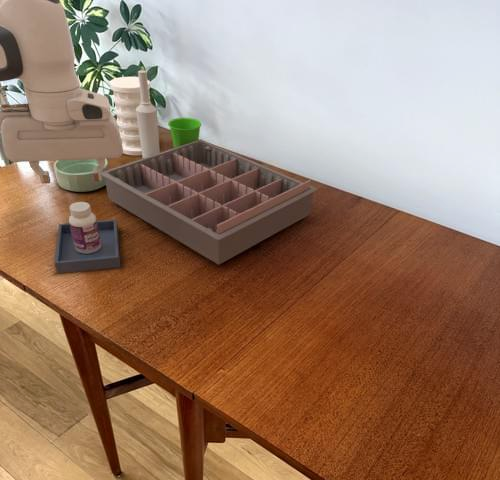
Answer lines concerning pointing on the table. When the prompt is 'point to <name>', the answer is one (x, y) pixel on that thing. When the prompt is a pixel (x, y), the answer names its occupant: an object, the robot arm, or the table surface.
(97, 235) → the pill bottle
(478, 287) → the table surface
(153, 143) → the bottle
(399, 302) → the table surface
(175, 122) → the cup
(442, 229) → the table surface
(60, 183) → the bowl
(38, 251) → the table surface
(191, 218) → the organizer tray
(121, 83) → the decorative container
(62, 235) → the tray
